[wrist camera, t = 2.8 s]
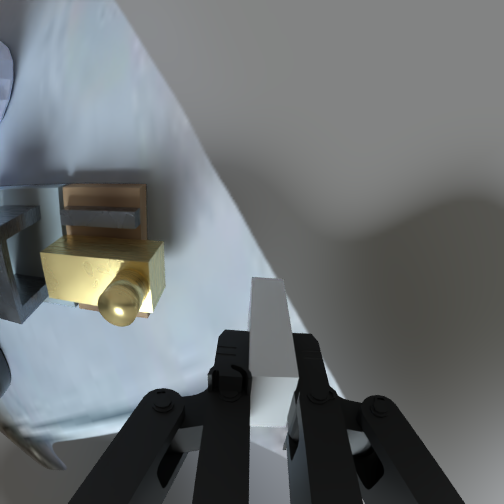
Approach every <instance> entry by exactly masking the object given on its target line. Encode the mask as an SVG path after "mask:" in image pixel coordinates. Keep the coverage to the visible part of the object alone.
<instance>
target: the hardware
mask: <svg viewBox="0 0 504 504" xmlns="http://www.w3.org/2000/svg"><path fill="white" fill-rule="evenodd" d="M39 220H41V212H40V205H3V206H1V207H0V318H1V319H5V320H8V321H12V322H15V323H19V324H23V322H24V321H25V320H26V319H27V318H28V317H29V316H30V315H31V314H32V313H33V312H34V311H35V310H36V309H37V307H38V306H39V305H40V304H41V303H42V302H43V301H44V300H45V299H46V298H47V297H48V296H49V294H48V289H47V285H46V281H45V278H41V277H35V276H28V275H22V274H16V273H15V274H13V269H12V265H11V261H10V256H9V251H8V246H7V239H9V238H10V237H12V236H13V235H15V234H17V233H18V232H20V231H22V230H23V229H25V228H27V227H29V226H30V225H32V224H34V223H36V222H37V221H39ZM60 220H61V225H69V226H88V227H107V228H124V229H136V228H137V227H138V226H139V225H140V224H141V220H140V208H134V207H106V206H66V207H64V208H62V209H60ZM77 303H78V302H77Z"/></svg>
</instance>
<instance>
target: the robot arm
mask: <svg viewBox="0 0 504 504" xmlns="http://www.w3.org/2000/svg"><path fill="white" fill-rule="evenodd" d="M10 382H11V377H10V372H9V368H8V365H7V363H6V361H5V358H4V356H3V354H2V352H1V350H0V398H1V397H2V396H3V394H4V393H5V391H6V390H7V388H8V387H9V385H10ZM287 420H288V433H287V436H286V440H285V443H284V446H283V450H286V448H287V459H288V473H289V489H290V503H291V504H363V501H362V499H363V500H364V502H365V504H465V503H464V501H463V500H462V498H461V497H460V496H459V494H458V493H457V491H456V490H455V488H454V487H453V485H452V484H451V482H450V481H449V479H448V478H447V476H446V475H445V474H444V472H443V471H442V469H441V468H440V466H439V465H438V463H437V462H436V461H435V459H434V458H433V456H432V455H431V453H430V452H429V451H428V449H427V448H426V446H425V445H424V443H423V442H422V441H421V439H420V438H419V436H418V435H417V434H416V432H415V431H414V429H413V428H412V427H411V425H410V424H409V422H408V421H407V420H406V418H405V417H404V415H403V414H402V413H401V411H400V410H399V408H398V407H397V406H396V404H394V402H393V401H392V400H390V399H389V398H387V397H385V396H380V395H375V396H370V397H368V398H366V399H365V400H364V401H363V402H362V403H359V402H354V401H349V400H346V399H343V398H341V397H339V396H338V395H337V393H336V391H335V390H334V389H333V388H331V387H330V386H329V382H328V378H327V374H326V370H325V366H324V362H323V359H322V354H321V352H320V347H319V343H318V341H317V340H316V339H315V338H314V336H313V335H312V334H304V333H292V330H291V324H290V317H289V311H288V305H287V299H286V293H285V287H284V281H283V279H273V278H259V277H252V282H251V294H250V305H249V316H248V331H237V330H224V331H223V333H222V334H221V335H220V336H219V338H218V345H217V351H216V357H215V363H214V366H213V367H212V368H211V369H210V371H209V373H208V388H207V389H206V390H205V391H204V392H202V393H199V394H197V395H192V396H185V397H181V396H180V394H179V393H177V392H175V391H173V390H171V389H165V388H162V389H155V390H153V391H150V392H149V393H148V394H146V395H145V396H144V397H143V399H142V400H141V402H140V403H139V404H138V406H137V407H136V409H135V410H134V411H133V413H132V414H131V416H130V417H129V418H128V420H127V421H126V423H125V424H124V425H123V427H122V428H121V430H120V431H119V432H118V434H117V435H116V437H115V438H114V440H113V441H112V442H111V444H110V445H109V447H108V448H107V449H106V451H105V452H104V453H103V455H102V456H101V458H100V459H99V460H98V462H97V463H96V465H95V466H94V467H93V469H92V470H91V472H90V473H89V475H88V476H87V477H86V479H85V480H84V482H83V483H82V484H81V486H80V487H79V489H78V490H77V491H76V493H75V494H74V496H73V497H72V498H71V500H70V501H69V503H68V504H162V503H163V501H164V499H165V497H166V495H167V493H168V491H169V489H170V487H171V486H172V484H173V482H174V479H175V478H176V476H177V474H178V472H179V470H180V468H181V466H182V464H183V462H184V460H185V458H186V456H187V454H188V452H190V451H197V450H199V458H198V465H197V472H196V479H195V486H194V494H193V501H192V504H249V450H250V426H256V427H286V424H287Z"/></svg>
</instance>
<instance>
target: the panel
mask: <svg viewBox="0 0 504 504" xmlns="http://www.w3.org/2000/svg"><path fill="white" fill-rule="evenodd" d="M3 205H40V212H41V220H39V221H37V222H36V223H34V224H32V225H30V226H29V227H27V228H25V229H23V230H22V231H20V232H18V233H17V234H15V235H13V236H12V237H10V238H9V239H7V246H8V251H9V256H10V261H11V265H12V269H13V274H15V273H16V274H22V275H28V276H35V277H41V278H45V276H44V271H43V266H42V261H41V256H40V252H41V251H42V250H44V249H45V248H47V247H48V246H49V245H51V244H52V243H54V242H55V241H56V240H58V239H59V238H61V237H62V236H63V235H79V236H94V237H108V238H123V239H138V240H147V209H146V184H42V185H18V186H0V207H1V206H3ZM66 206H106V207H134V208H140V220H141V224H140V225H139V226H138V227H137V228H136V229H124V228H107V227H88V226H69V225H61V220H60V209H62V208H64V207H66ZM43 302H47V303H53V304H58V305H64V306H69V307H76V306H77V305H78V304H79V308H81V309H87V310H93V311H99V309H98V306H97V305H90V304H84V303H77V302H71V301H65V300H60V299H54V298H49V296H48V297H47V298H46V299H45V300H44V301H43ZM99 312H100V311H99ZM149 315H150V313H149V312H141V311H139V312H138V314H137V316H136V317H142V318H148V317H149Z"/></svg>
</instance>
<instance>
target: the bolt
mask: <svg viewBox="0 0 504 504" xmlns="http://www.w3.org/2000/svg"><path fill="white" fill-rule="evenodd" d="M40 256H41V261H42V266H43V271H44V276H45V281H46V285H47V289H48V294H49V298H54V299H60V300H65V301H71V302H78V303H84V304H90V305H97V306H98V309H99V311H100V313H101V315H102V316H103V317H104V318H105V320H107V321H108V322H109V323H111V324H113V325H116V326H121V327H123V326H128V325H130V324H131V323H132V322H133V321H134V320H135V318H136V316H137V314H138V312H139V311H141V312H149V313H153V311H154V309H155V307H156V305H157V303H158V301H159V299H160V297H161V295H162V293H163V290H164V288H165V267H164V241H152V240H138V239H123V238H108V237H94V236H79V235H63V236H62V237H61V238H59V239H58V240H56V241H55V242H54V243H52V244H51V245H49V246H48V247H47V248H45V249H44V250H42V251H41V252H40Z"/></svg>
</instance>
